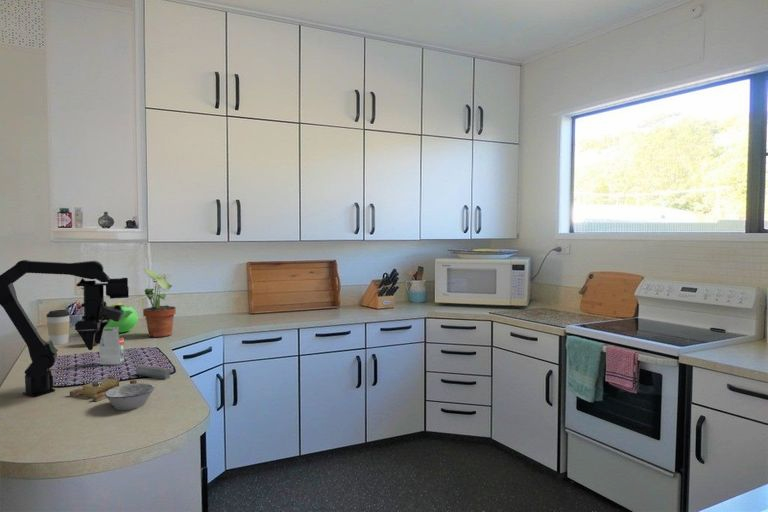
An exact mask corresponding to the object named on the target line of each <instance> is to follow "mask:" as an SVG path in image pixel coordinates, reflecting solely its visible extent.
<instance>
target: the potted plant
mask: <svg viewBox="0 0 768 512" xmlns="http://www.w3.org/2000/svg"><path fill="white" fill-rule="evenodd" d="M142 270H143V272H145V273H146V274H147V276H148V277H150V279H151V280H152V282H153V283H158V286H157V285H155V286H154V287H155V288H145V289H144V295H146V297H147V298H148V300H149V301H150V304H151V307H147V308H144V309H142V311H143V313H142V314H143V317H145V322H146V327H147V331H148V332H147V333H148V336H149V337H150V338H160V337H168V336H171V335H172V334H173V325H174V317H175V316H174V315H176V308H177V307H176V306H170V305H168V304H167V305H161V300H165V299H166V293H160V292H161V288H162V289H164V290H170V289H171V288H172V287H173V284H172V285H171V284H169V282H168V281H167V277H166V275H164V276H162V275H160V274H158V273H157V272H155V271H154V270H151V269H149V268H143V269H142Z"/></svg>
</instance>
